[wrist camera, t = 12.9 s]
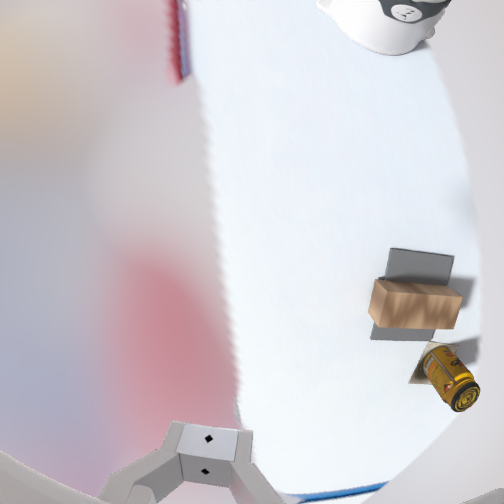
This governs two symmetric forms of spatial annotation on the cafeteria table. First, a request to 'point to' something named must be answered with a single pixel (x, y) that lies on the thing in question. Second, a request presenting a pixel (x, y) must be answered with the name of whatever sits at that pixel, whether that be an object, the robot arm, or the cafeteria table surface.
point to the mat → (413, 271)
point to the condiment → (446, 376)
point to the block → (414, 305)
